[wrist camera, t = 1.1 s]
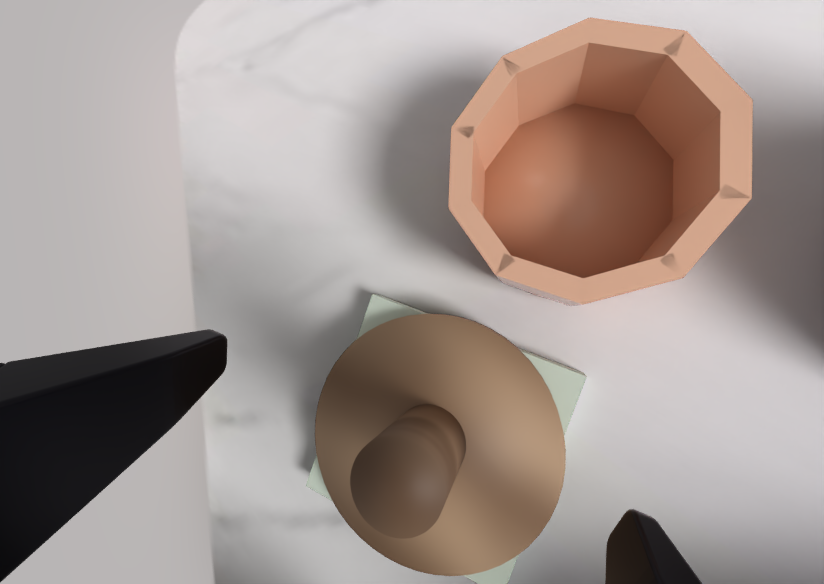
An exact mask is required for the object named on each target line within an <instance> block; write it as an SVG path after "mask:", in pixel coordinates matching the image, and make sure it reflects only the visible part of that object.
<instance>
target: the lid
mask: <svg viewBox="0 0 824 584" xmlns="http://www.w3.org/2000/svg"><path fill="white" fill-rule="evenodd" d="M315 443H316V453H317V458H318V463H319V468H320V471H321V474H322V477H323V481H324V483H325V486H326V488H327V490H328V493H329V495H330V497H331V499H332V501H333V502H334V504H335V506H336V508H337V509H338V511H339V513H340V514H341V515H342V517H343V518H344V519H345V521H346V522H347V523H348V525H349V526H350V527H351V528H352V529H353V530H354V531H355V532H356V533H357V535H358V536H359V537H360V538H361V539H363V540H364V541H365V542H366V543H367V544H368V545H370V546H371V547H372V548H373V549H375V550H376V551H378V552H379V553H381V554H382V555H384V556H385V557H387V558H388V559H390V560H392V561H394V562H396V563H398V564H400V565H402V566H405V567H408V568H411V569H413V570H416V571H420V572H424V573H429V574H433V575H444V576H460V575H470V574H475V573H480V572H484V571H487V570H490V569H492V568H495V567H498V566H500V565H502V564H504V563H506V562H507V561H509V560H511V559H513V558H514V557H516V556H517V555H518V554H520V553H521V552H522V551H523V550H525V549H526V548H527V547H528V546H529V545H530V544H531V543H532V542H533V541H534V540H535V539H536V538H537V537H538V536H539V535H540V533H541V532H542V530H543V529H544V527H545V526H546V524H547V523H548V521H549V520H550V518H551V516H552V514H553V512H554V509H555V507H556V505H557V503H558V500H559V496H560V493H561V490H562V486H563V480H564V473H565V452H566V449H565V441H564V433H563V428H562V424H561V421H560V417H559V413H558V410H557V407H556V404H555V402H554V399H553V397H552V395H551V392H550V390H549V388H548V386H547V385H546V383H545V381H544V379H543V378H542V376H541V374H540V373H539V372H538V370H537V369H536V368H535V366H534V365H533V364H532V362H531V361H530V360H529V359H528V358H527V357H526V356H525V355H524V354H523V353H522V352H521V351H520V349H519V348H517V347H516V346H515V345H514V344H512V343H511V342H510V341H509V340H507V339H506V338H505V337H503V336H502V335H500V334H499V333H497V332H495V331H494V330H492V329H490V328H488V327H486V326H484V325H482V324H479V323H477V322H475V321H472V320H468V319H465V318H462V317H458V316H452V315H446V314H418V315H409V316H405V317H400V318H396V319H393V320H390V321H388V322H385V323H383V324H380V325H378V326H376V327H375V328H373V329H371V330H369V331H368V332H366V333H365V334H363V335H362V336H361V337H359V338H358V339H357V340H356V341H354V342H353V343H352V344H351V345H350V346H349V347H348V348H347V349H346V350H345V351H344V352H343V354H342V355H341V356H340V358H339V359H338V360H337V362H336V363H335V365H334V366H333V368H332V370H331V371H330V373H329V375H328V377H327V379H326V382H325V384H324V386H323V389H322V392H321V395H320V399H319V402H318V407H317V413H316V420H315Z"/></svg>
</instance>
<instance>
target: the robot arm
mask: <svg viewBox="0 0 824 584" xmlns="http://www.w3.org/2000/svg"><path fill="white" fill-rule="evenodd" d="M226 364H227V338H226V336H224V335H223V334H221V333H218V332H216V331H214V330H202V331H196V332H190V333H184V334H177V335H171V336H165V337H159V338H153V339H147V340H141V341H135V342H128V343H122V344H116V345H110V346H104V347H97V348H92V349H85V350H79V351H73V352H66V353H61V354H54V355H49V356H42V357H36V358H30V359H23V360H18V361H11V362H8V363H6V364H4V363H0V582H1V581H2V580H3V579H5V578H6V577H7V576H8V575H9V574H10V573H11V572H12V571H13V570H15V569H16V568H17V567H18V566H19V565H20V564H21V563H22V562H23V561H25V560H26V559H27V558H28V557H29V556H30V555H31V554H32V553H33V552H35V551H36V550H37V549H38V548H39V547H40V546H41V545H42V544H43V543H45V541H47V540H48V539H49V538H50V537H51V536H52V535H53V534H54V533H56V532H57V531H58V530H59V529H60V528H61V527H62V526H63V525H65V524H66V523H67V522H68V521H69V520H70V519H71V518H72V517H73V516H74V515H76V514H77V513H78V512H79V511H80V510H81V509H82V508H83V507H84V506H86V505H87V504H88V503H89V502H90V501H91V500H92V499H93V498H95V497H96V496H97V495H98V494H99V493H100V492H101V491H102V490H103V489H105V488H106V487H107V486H108V485H109V484H110V483H111V482H112V481H113V480H115V479H116V478H117V477H118V476H119V475H120V474H121V473H122V472H123V471H124V470H126V469H127V468H128V467H129V466H130V465H131V464H132V463H133V462H134V461H135V460H137V459H138V458H139V457H140V456H141V455H142V454H143V453H144V452H146V451H147V450H148V449H149V448H150V447H151V446H152V445H153V444H155V443H156V442H157V441H158V440H159V439H160V438H161V437H162V436H163V435H164V434H166V433H167V432H168V431H169V430H170V429H171V428H172V427H173V426H174V425H175V424H176V423H177V422H178V421H179V420H180V419H181V418H182V417H183V416H184V415H185V414H186V413H187V412H188V410H189V409H190V408H191V407H192V406H193V405H194V404H195V403H196V402H197V401H198V400H199V399H200V398H201V396H202V395H203V394H204V393H205V392H206V391H207V390H208V389H209V388H210V387H211V386H212V385H213V383H214V382H215V381H216V380H217V379H218V378H219V377H220V376H221V375H222V373H223V372H224V370H225V368H226ZM605 584H702V583H701V581H700V580H699V578H698V577H697V576H696V574H695V573H694V572H693V570H692V569H691V567H690V566H689V565H688V563H687V562H686V561H685V559H684V558H683V557H682V555H681V554H680V552H679V551H678V550H677V548H676V547H675V546H674V544H673V543H672V541H671V540H670V539H669V537H668V536H667V535H666V533H665V532H664V530H663V529H662V528H661V526H660V525H659V524H658V522H657V521H656V520H655V519H654V518H652V517H651V516H648V515H646V514H644V513H641V512H639V511H637V510H634V509H630V510H628V511H627V512H626V513H625V514H624V515H623V517H622V518H621V520H620V521H619V523H618V524H617V526H616V527H615V528H614V530H613V531H612V533H611V534H610V536H609V539H608V542H607V551H606V583H605Z"/></svg>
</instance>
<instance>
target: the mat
mask: <svg viewBox="0 0 824 584" xmlns="http://www.w3.org/2000/svg"><path fill="white" fill-rule="evenodd" d="M418 314H428V313H426V312H423V311H421V310H418V309H415V308H413V307H410V306H407V305H405V304H402V303H400V302H397V301H394V300H392V299H389V298H387V297H384V296H381V295H376V294H372V297H371V299H370V302H369V305H368V308H367V311H366V314H365V317H364V320H363V322H362V325H361V328H360V331H359V334H358V337H357V339H358V338H359V337H361V336H362V335H363V334H365V333H366V332H368V331H369V330H371V329H373V328H375V327H376V326H378V325H380V324H383V323H385V322H388V321H390V320H393V319H396V318H400V317H405V316H409V315H418ZM519 349H520V348H519ZM520 351H521V352H522V353H523V354H524V355H525V356H526V357H527V358H528V359H529V360H530V361H531V362H532V364H533V365H534V366H535V368H536V369H537V370H538V372H539V373H540V374H541V376H542V378H543V379H544V381H545V383H546V385H547V386H548V388H549V390H550V392H551V395H552V397H553V399H554V402H555V404H556V407H557V410H558V413H559V417H560V421H561V424H562V428H563V433H564V435H565V432H566V430H567V427H568V424H569V422H570V419H571V417H572V414H573V411H574V409H575V406H576V404H577V401H578V398H579V396H580V393H581V391H582V388H583V385H584V383H585V380H586V377H587V376H586V375H585V374H584V373H583V372H580V371H577V370H575V369H572V368H570V367H567V366H564V365H562V364H559V363H556V362H554V361H551V360H549V359H546V358H543V357H541V356H538V355H536V354H533V353H530V352H528V351H525V350H522V349H520ZM306 486H307V487H308V488H310V489H312V490H314V491H315V492H317V493H319V494H321V495H322V496H324V497H326V498H328V499H329V500H331V501H332V499H331V497H330V495H329V493H328V490H327V488H326V486H325V483H324V481H323V477H322V474H321V471H320V468H319V463H318V458H317V455H316V458H315V461H314V463H313V466H312V469H311V472H310V475H309V478H308V481H307V484H306ZM518 555H519V554H518ZM518 555H517V556H516V557H514V558H513V559H511V560H509V561H507V562H506V563H504V564H502V565H500V566H498V567H495V568H492V569H490V570H487V571H484V572H480V573H475V574H470V575H463V576H465V577H467V578H468V579H470V580H472V581H474V582H475V583H477V584H508V581H509V579H510V576H511V573H512V571H513V568H514V565H515V563H516V560H517V558H518Z"/></svg>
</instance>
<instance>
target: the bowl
mask: <svg viewBox="0 0 824 584" xmlns="http://www.w3.org/2000/svg"><path fill="white" fill-rule="evenodd" d="M752 120H753V100H752V99H751V98H750V97H749V96H748V95H747V93H746V92H745V91H744V90H743V89H742V88H741V87H740V86H739V85H738V84H737V83H736V82H735V81H734V80H733V79H732V78H731V77H730V76H729V75H728V74H727V73H726V72H725V71H724V70H723V68H722V67H721V66H720V65H719V64H718V63H717V62H716V61H715V60H714V59H713V58H712V57H711V56H710V55H709V54H708V53H707V52H706V51H705V50H704V49H703V48H702V47H701V46H700V44H699V43H698V42H697V41H696V40H695V39H694V38H693V37H692V36H691V35H690V34H689V33H688V32H687V31H684V30H676V29H669V28H662V27H655V26H647V25H640V24H633V23H625V22H618V21H611V20H604V19H596V18H587V19H585V20H583V21H580V22H578V23H576V24H574V25H571V26H569V27H567V28H565V29H562V30H560V31H558V32H556V33H553V34H551V35H549V36H547V37H544V38H542V39H540V40H538V41H535V42H533V43H531V44H529V45H526V46H524V47H522V48H520V49H517V50H515V51H513V52H511V53H508V54H506V55H504V56H503V57H501V59H500V60H499V61H498V63H497V64H496V66H495V67H494V68H493V70H492V71H491V73H490V74H489V75H488V77H487V78H486V80H485V81H484V82H483V84H482V85H481V87H480V88H479V89H478V91H477V92H476V94H475V95H474V96H473V98H472V99H471V101H470V102H469V103H468V105H467V106H466V108H465V109H464V110H463V112H462V113H461V114H460V116H459V117H458V119H457V120H456V121H455V123H454V124H453V126H452V128H451V148H450V176H449V205H448V208H449V210H450V211H451V213H452V214H453V216H454V217H455V218H456V220H457V221H458V223H459V224H460V225H461V227H462V228H463V230H464V231H465V233H466V234H467V235H468V237H469V238H470V240H471V241H472V243H473V244H474V245H475V247H476V248H477V250H478V251H479V252H480V254H481V255H482V257H483V258H484V260H485V261H486V262H487V264H488V265H489V267H490V268H491V270H492V271H493V272H494V274H495V275H496V276H497V277H498V278H499V280H500V281H501V282H502V283H504V284H507V285H510V286H513V287H516V288H519V289H522V290H524V291H527V292H529V293H531V294H534V295H537V296H541V297H544V298H548V299H551V300H554V301H557V302H560V303H563V304H566V305H569V306H573V305H583V304H587V303H591V302H594V301H598V300H602V299H606V298H609V297H613V296H617V295H621V294H624V293H628V292H632V291H636V290H640V289H643V288H647V287H651V286H655V285H658V284H662V283H666V282H670V281H673V280H677V279H681V278H683V277H684V276H685V275H686V274H687V273H688V272H689V270H690V269H691V268H692V267H693V266H694V265H695V263H696V262H697V261H698V260H699V259H700V258H701V256H702V255H703V254H704V253H705V252H706V251H707V250H708V248H709V247H710V246H711V245H712V244H713V243H714V241H715V240H716V239H717V238H718V237H719V236H720V234H721V233H722V232H723V231H724V230H725V229H726V228H727V226H728V225H729V224H730V223H731V222H732V221H733V219H734V218H735V217H736V216H737V215H738V214H739V212H740V211H741V210H742V209H743V208H744V207H745V206H746V204H747V203H748V202H749V201H750V200H751V199H752Z"/></svg>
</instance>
